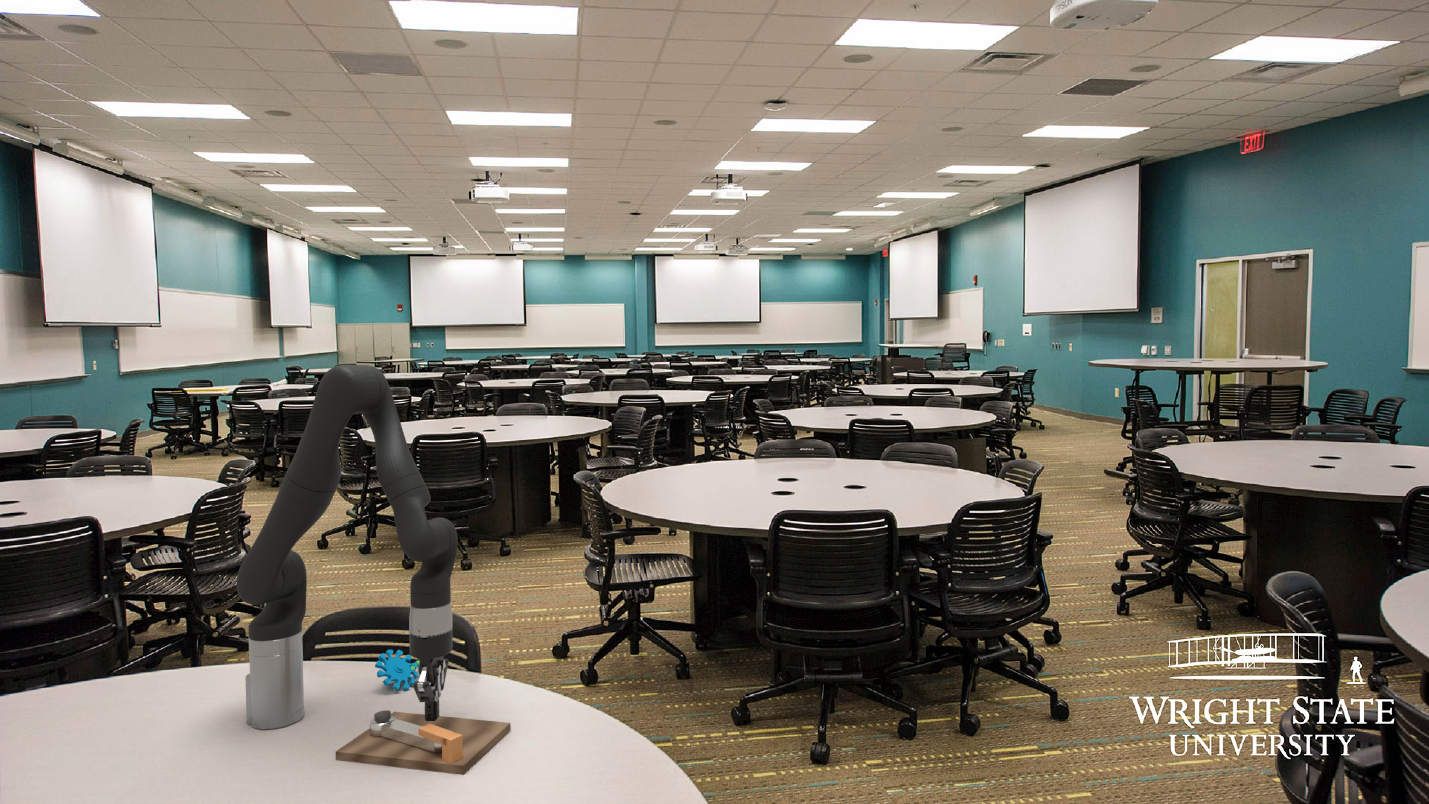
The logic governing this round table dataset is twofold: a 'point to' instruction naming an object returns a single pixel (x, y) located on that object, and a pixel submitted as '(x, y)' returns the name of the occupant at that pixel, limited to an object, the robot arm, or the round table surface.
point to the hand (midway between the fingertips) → (432, 719)
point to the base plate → (394, 753)
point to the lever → (403, 733)
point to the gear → (397, 669)
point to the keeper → (444, 741)
